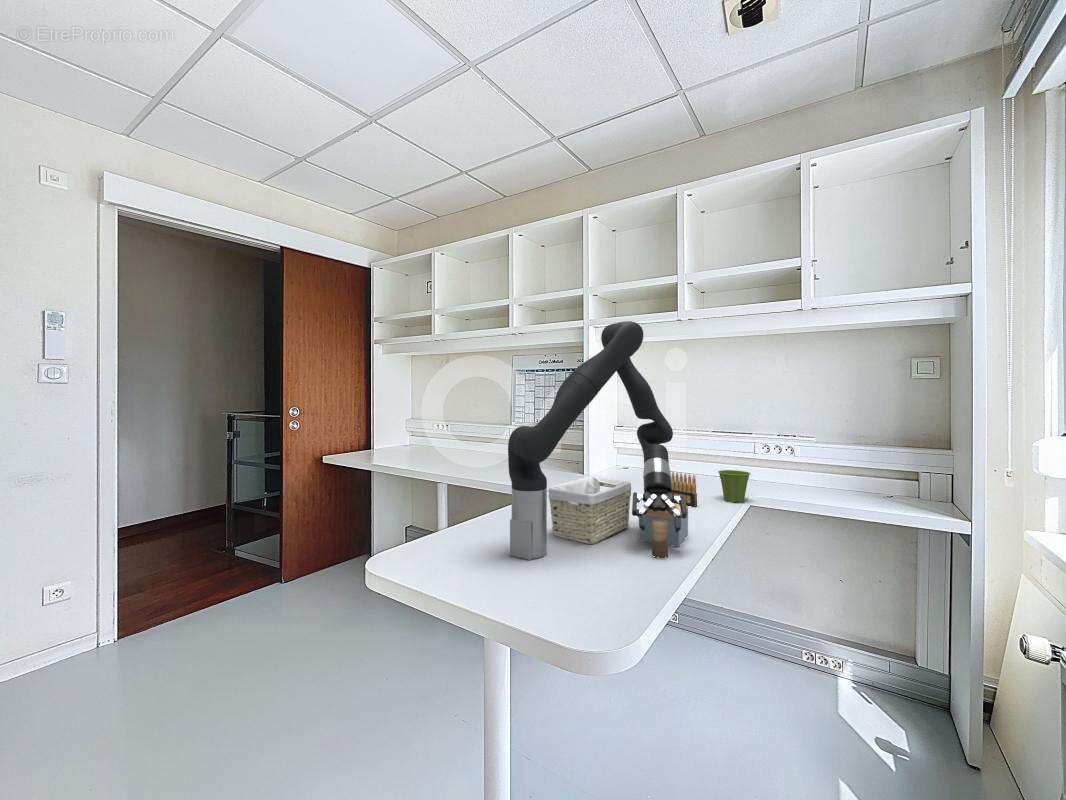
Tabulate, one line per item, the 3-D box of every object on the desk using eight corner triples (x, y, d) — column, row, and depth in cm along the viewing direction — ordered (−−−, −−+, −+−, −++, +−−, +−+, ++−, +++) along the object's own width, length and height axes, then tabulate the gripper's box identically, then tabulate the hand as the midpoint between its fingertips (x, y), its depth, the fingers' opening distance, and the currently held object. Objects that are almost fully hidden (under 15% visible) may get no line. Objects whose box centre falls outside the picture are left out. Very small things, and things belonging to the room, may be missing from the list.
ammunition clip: (669, 502, 181) (669, 471, 181) (671, 501, 182) (672, 470, 182) (694, 507, 173) (695, 475, 173) (697, 506, 174) (697, 474, 174)
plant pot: (752, 499, 186) (752, 471, 186) (748, 505, 176) (748, 475, 176) (720, 496, 192) (720, 468, 192) (714, 502, 182) (715, 472, 182)
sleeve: (678, 547, 129) (679, 514, 129) (639, 540, 135) (639, 509, 134) (687, 536, 138) (688, 506, 138) (650, 530, 144) (651, 501, 144)
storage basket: (592, 548, 128) (592, 494, 128) (545, 536, 139) (545, 486, 138) (633, 528, 147) (634, 481, 147) (589, 519, 157) (589, 475, 157)
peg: (665, 559, 119) (666, 524, 119) (650, 556, 121) (650, 522, 121) (669, 555, 123) (670, 520, 123) (654, 552, 125) (654, 518, 125)
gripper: (631, 469, 132) (632, 521, 121) (684, 471, 129) (690, 524, 118) (631, 484, 137) (631, 535, 126) (682, 486, 135) (687, 538, 124)
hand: (660, 530), depth 122 cm, fingers open, 8 cm apart
